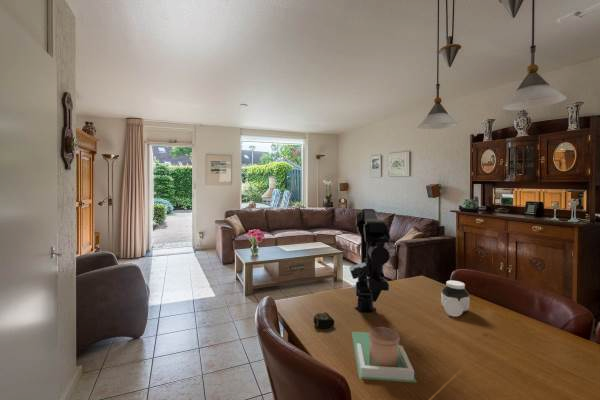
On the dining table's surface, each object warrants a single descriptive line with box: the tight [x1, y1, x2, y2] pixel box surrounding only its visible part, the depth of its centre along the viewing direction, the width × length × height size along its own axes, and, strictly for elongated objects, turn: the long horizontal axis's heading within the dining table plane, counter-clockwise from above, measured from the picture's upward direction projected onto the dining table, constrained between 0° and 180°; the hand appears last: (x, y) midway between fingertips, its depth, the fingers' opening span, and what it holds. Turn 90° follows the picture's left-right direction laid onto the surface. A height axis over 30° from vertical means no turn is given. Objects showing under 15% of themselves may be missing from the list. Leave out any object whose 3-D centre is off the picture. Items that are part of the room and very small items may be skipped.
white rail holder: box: [357, 343, 415, 380], centre depth 83 cm, size 12×14×2 cm
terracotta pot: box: [368, 326, 400, 367], centre depth 83 cm, size 8×8×9 cm
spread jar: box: [440, 279, 470, 317], centre depth 119 cm, size 12×11×12 cm
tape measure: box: [313, 312, 335, 329], centre depth 107 cm, size 7×7×4 cm
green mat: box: [351, 331, 418, 383], centre depth 89 cm, size 25×15×1 cm, turn 174°
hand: (374, 301), depth 100 cm, fingers closed
